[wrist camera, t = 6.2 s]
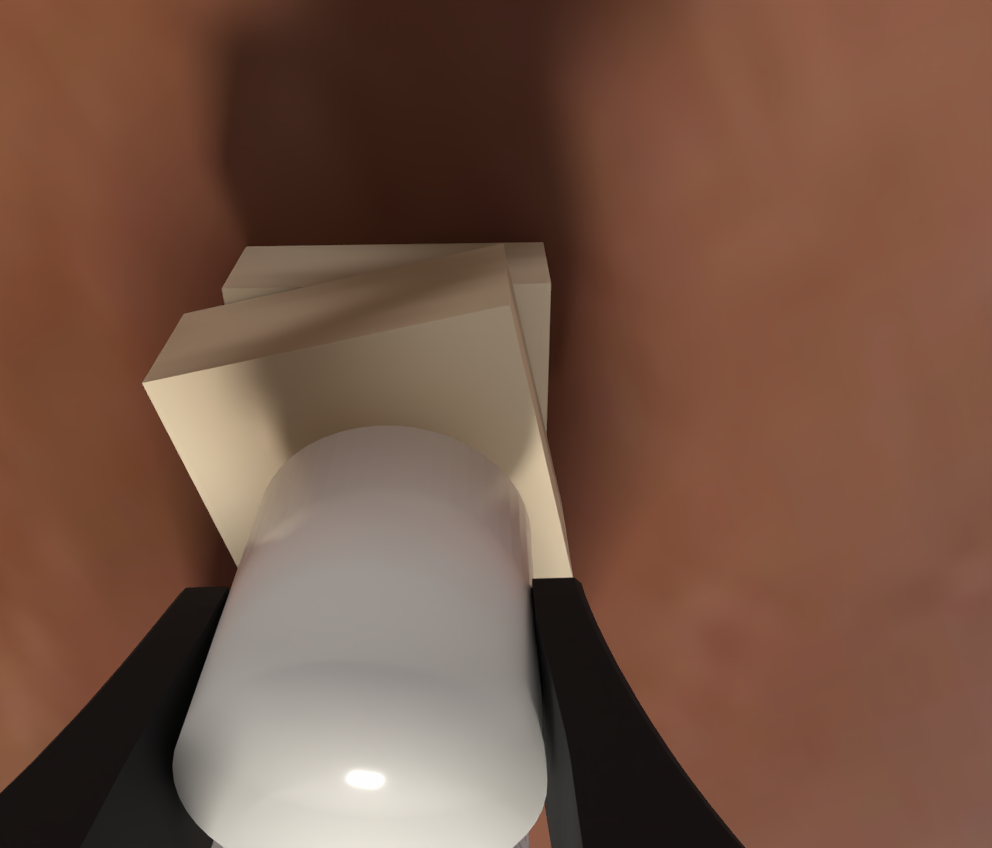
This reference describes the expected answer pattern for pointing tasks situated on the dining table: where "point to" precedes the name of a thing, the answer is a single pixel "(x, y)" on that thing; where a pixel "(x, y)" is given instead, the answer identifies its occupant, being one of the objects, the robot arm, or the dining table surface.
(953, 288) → the dining table surface
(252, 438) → the oak slab top
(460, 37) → the dining table surface
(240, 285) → the oak slab bottom
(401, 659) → the ceramic jar
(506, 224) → the dining table surface
